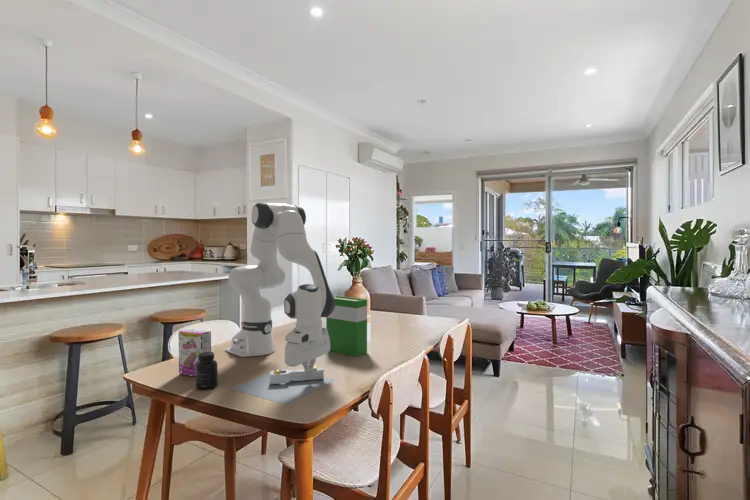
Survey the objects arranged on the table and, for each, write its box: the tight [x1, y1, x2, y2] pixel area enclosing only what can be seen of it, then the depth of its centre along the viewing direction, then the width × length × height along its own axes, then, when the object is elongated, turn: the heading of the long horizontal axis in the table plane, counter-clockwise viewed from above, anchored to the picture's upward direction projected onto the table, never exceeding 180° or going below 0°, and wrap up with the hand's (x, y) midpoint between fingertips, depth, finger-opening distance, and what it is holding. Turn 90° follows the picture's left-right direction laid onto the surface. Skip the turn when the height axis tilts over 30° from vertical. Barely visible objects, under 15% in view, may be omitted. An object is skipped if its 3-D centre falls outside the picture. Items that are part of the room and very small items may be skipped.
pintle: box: [273, 368, 281, 374], centre depth 134 cm, size 2×2×4 cm
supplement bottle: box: [195, 351, 219, 392], centre depth 130 cm, size 7×7×12 cm
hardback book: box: [325, 295, 368, 358], centre depth 174 cm, size 18×7×24 cm, turn 54°
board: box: [230, 367, 335, 406], centre depth 132 cm, size 25×24×1 cm
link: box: [269, 367, 325, 384], centre depth 136 cm, size 18×6×3 cm, turn 102°
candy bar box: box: [178, 328, 212, 377], centre depth 144 cm, size 11×5×16 cm, turn 71°
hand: (309, 372), depth 134 cm, fingers closed
